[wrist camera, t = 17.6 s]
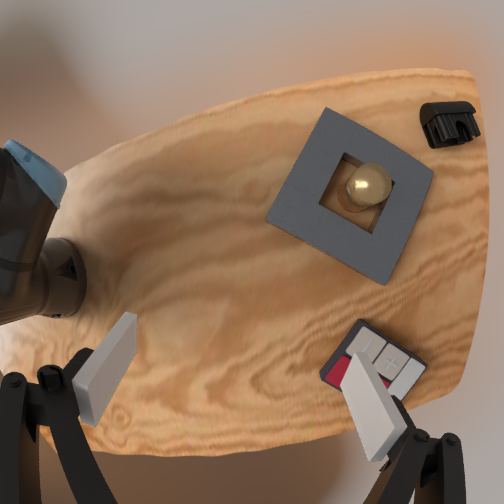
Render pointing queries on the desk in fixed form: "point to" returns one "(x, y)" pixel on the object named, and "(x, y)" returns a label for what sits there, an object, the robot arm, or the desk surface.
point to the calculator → (375, 360)
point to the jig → (336, 227)
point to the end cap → (448, 123)
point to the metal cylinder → (365, 187)
